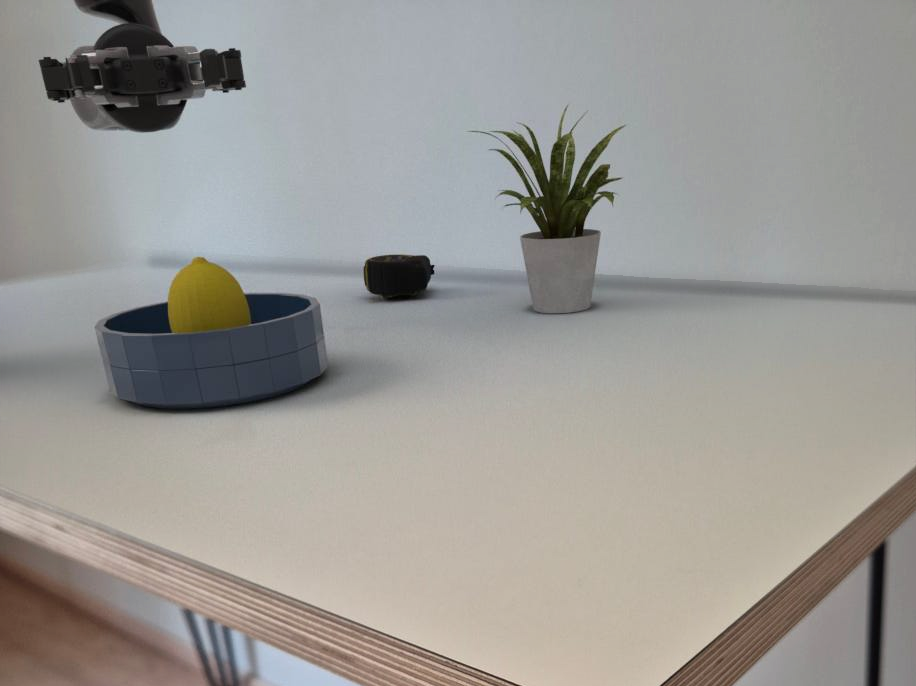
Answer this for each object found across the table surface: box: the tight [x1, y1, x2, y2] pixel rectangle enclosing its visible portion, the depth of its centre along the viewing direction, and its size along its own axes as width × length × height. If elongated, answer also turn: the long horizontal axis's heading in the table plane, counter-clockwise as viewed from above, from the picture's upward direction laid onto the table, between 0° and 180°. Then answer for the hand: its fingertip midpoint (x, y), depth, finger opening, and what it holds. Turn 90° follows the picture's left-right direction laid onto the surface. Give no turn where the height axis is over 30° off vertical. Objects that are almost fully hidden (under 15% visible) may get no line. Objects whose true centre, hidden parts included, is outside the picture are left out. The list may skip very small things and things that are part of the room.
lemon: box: [167, 256, 251, 333], centre depth 67 cm, size 6×6×8 cm
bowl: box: [94, 292, 329, 410], centre depth 68 cm, size 15×15×5 cm
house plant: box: [468, 101, 629, 314], centre depth 83 cm, size 14×14×16 cm
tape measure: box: [363, 254, 435, 300], centre depth 98 cm, size 7×7×4 cm
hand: (151, 70), depth 67 cm, fingers open, 8 cm apart
